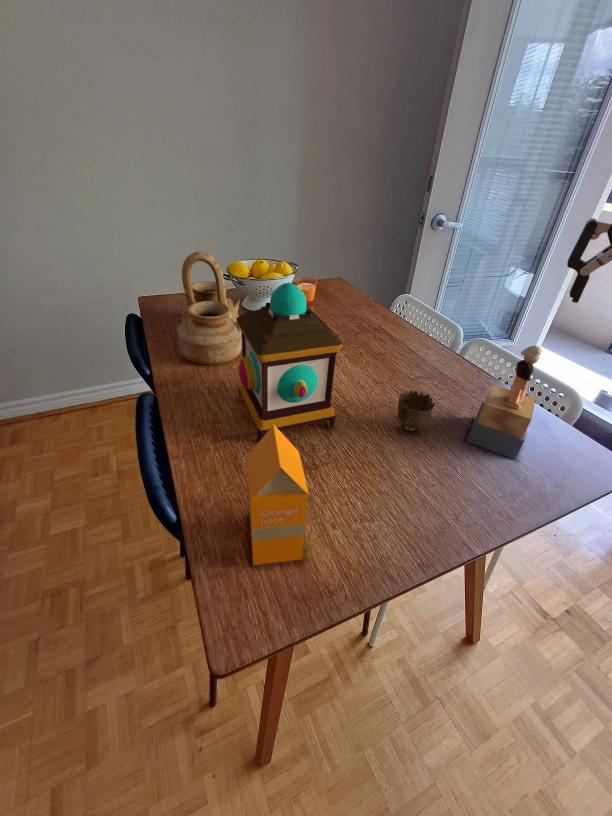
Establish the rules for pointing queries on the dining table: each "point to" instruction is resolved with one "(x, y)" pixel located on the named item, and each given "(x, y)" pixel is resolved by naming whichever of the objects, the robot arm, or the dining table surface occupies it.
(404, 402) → the cup
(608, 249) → the robot arm
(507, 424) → the top block
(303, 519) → the orange juice
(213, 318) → the ceramic vessel
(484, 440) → the base block
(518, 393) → the grandmother figurine
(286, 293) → the decorative lantern
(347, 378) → the dining table surface
